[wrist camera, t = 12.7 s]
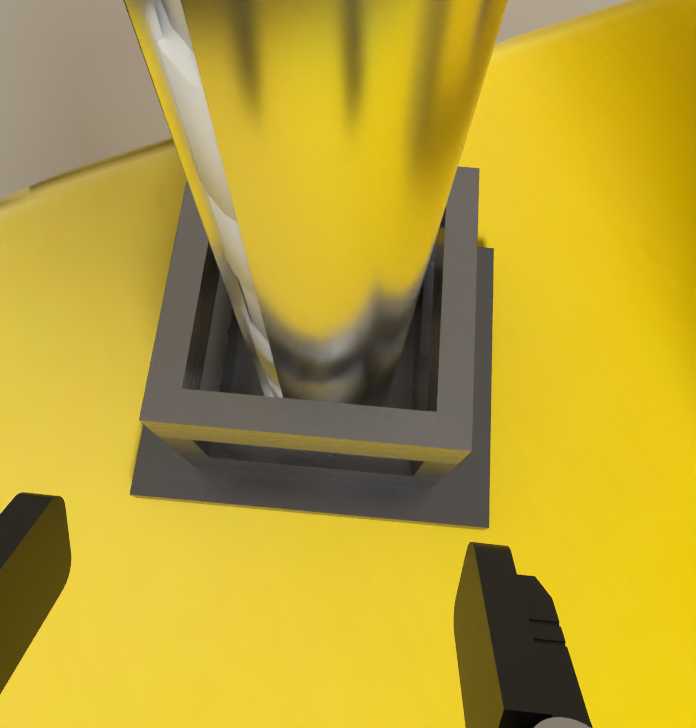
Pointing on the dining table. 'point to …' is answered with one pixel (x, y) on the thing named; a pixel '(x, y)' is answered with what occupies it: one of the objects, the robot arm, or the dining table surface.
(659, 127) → the dining table surface
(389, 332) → the silver long cylinder
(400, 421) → the grey square holder
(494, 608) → the robot arm
